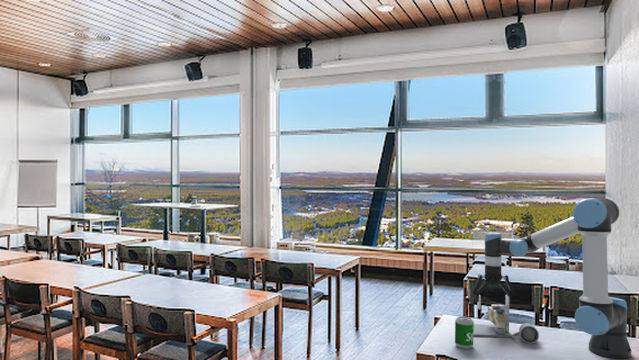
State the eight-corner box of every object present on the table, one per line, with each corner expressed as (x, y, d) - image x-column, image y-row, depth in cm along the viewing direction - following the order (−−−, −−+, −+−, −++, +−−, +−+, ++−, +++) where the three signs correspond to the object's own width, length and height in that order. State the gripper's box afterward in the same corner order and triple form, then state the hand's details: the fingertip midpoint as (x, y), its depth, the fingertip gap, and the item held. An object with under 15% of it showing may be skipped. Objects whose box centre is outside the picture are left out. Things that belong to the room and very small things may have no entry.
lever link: (505, 328, 204) (505, 311, 204) (497, 327, 204) (497, 310, 204) (494, 318, 217) (494, 302, 218) (486, 318, 218) (487, 302, 218)
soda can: (461, 350, 186) (461, 321, 186) (451, 344, 193) (451, 316, 193) (477, 349, 188) (477, 320, 188) (466, 342, 195) (467, 315, 195)
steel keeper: (508, 333, 208) (509, 306, 208) (492, 333, 208) (492, 305, 208) (507, 332, 210) (507, 304, 210) (491, 332, 210) (491, 304, 210)
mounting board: (513, 337, 203) (513, 329, 203) (472, 336, 203) (472, 328, 203) (500, 326, 218) (500, 319, 218) (462, 325, 218) (462, 318, 218)
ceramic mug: (536, 338, 202) (536, 321, 202) (539, 344, 194) (538, 327, 194) (510, 336, 205) (510, 319, 205) (512, 342, 197) (512, 324, 198)
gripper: (515, 263, 219) (516, 307, 219) (464, 263, 220) (464, 306, 219) (522, 266, 212) (522, 311, 211) (469, 265, 212) (469, 310, 212)
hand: (493, 308), depth 215 cm, fingers open, 13 cm apart
